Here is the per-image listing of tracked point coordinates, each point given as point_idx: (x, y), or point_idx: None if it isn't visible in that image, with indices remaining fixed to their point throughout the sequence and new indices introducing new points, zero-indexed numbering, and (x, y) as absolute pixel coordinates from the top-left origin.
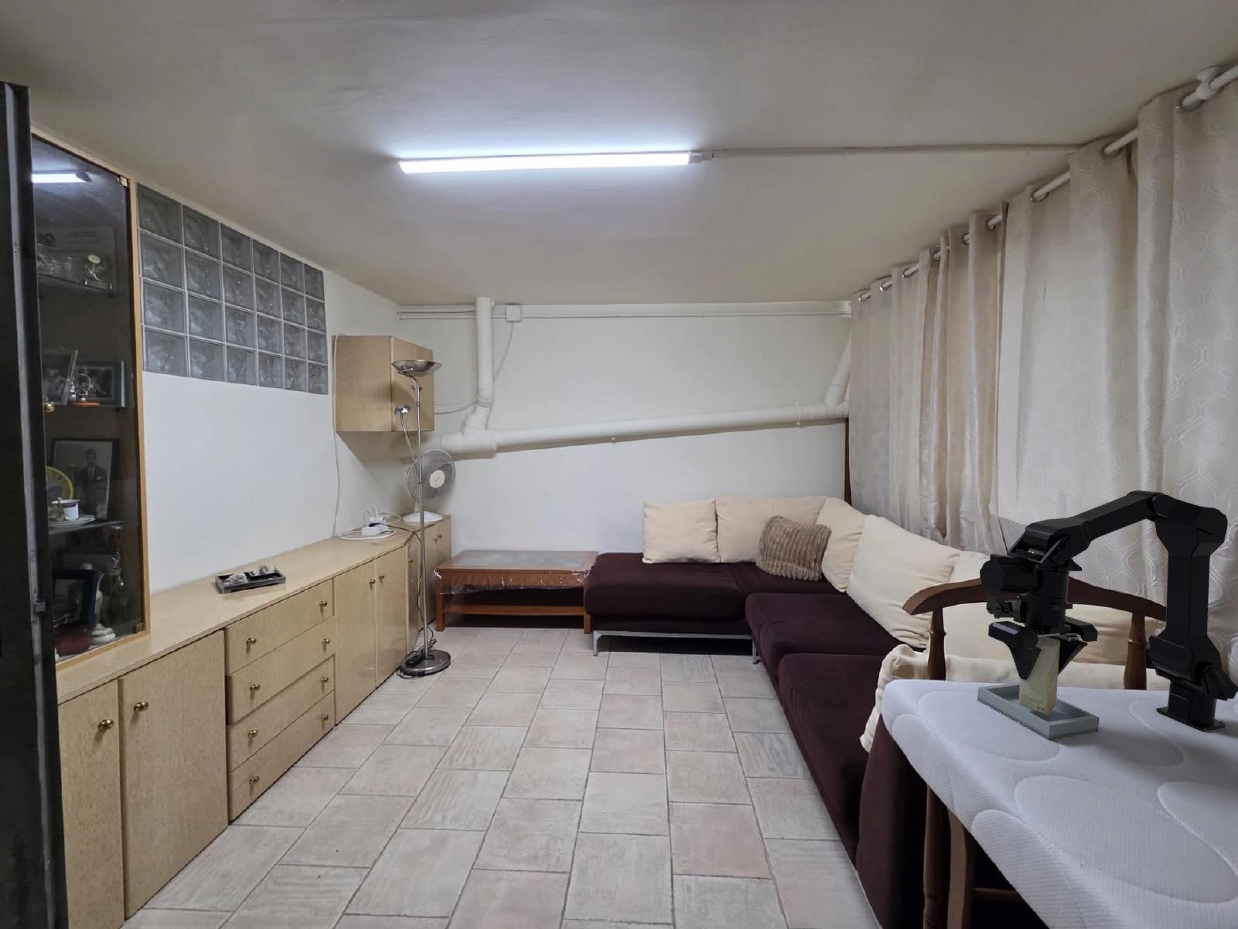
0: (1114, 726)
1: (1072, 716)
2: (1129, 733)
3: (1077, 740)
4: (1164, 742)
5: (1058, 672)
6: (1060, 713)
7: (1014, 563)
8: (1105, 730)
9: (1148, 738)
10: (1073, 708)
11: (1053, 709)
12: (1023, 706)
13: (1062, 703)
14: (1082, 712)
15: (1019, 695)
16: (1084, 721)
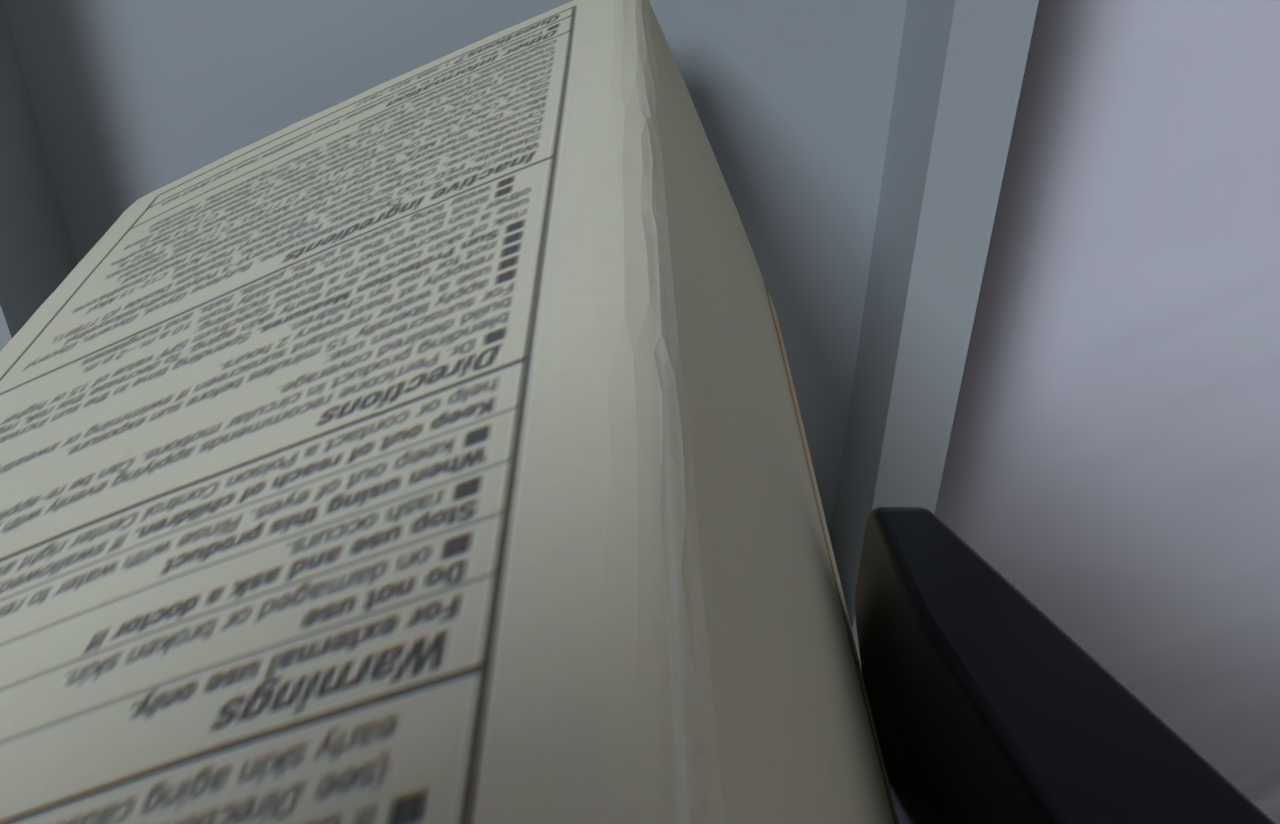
0: (1196, 520)
1: (855, 392)
2: (1164, 618)
3: None
4: (1274, 744)
5: (873, 718)
6: (807, 292)
7: None
8: (988, 547)
9: (1224, 691)
10: (878, 460)
11: (833, 198)
12: (439, 34)
13: (896, 335)
14: (861, 551)
15: (65, 279)
16: None
